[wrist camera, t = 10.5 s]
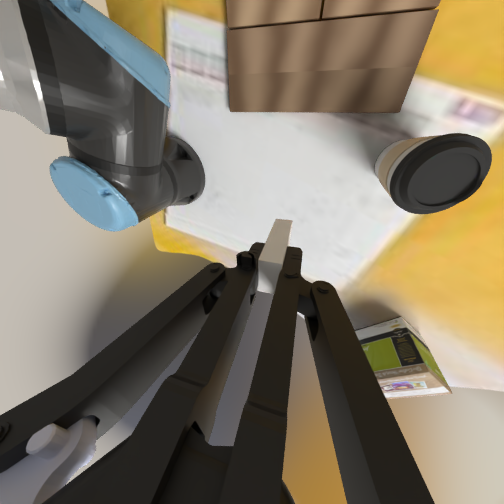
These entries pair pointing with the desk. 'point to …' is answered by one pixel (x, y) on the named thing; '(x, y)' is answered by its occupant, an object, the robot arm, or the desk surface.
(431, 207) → the coffee cup
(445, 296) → the desk surface
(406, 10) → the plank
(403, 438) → the robot arm
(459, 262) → the desk surface
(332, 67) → the laid board
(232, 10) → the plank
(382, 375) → the tea box
